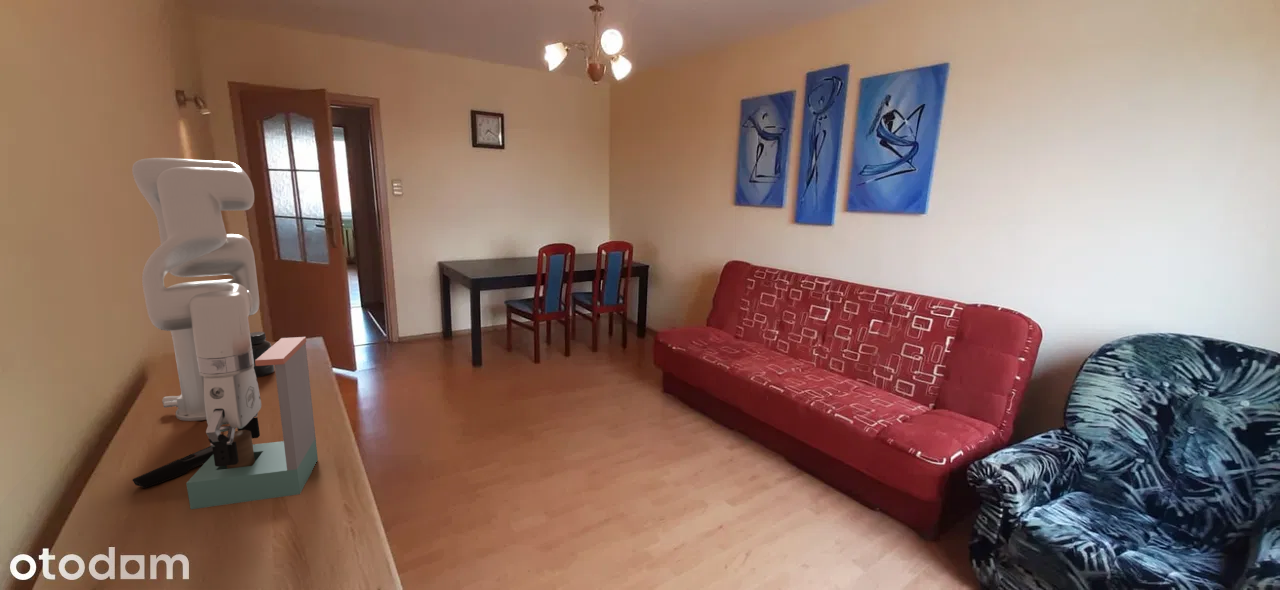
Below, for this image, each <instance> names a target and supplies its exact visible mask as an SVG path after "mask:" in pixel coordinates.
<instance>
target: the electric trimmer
mask: <svg viewBox="0 0 1280 590" xmlns="http://www.w3.org/2000/svg"><path fill="white" fill-rule="evenodd" d="M212 455H213V449H212V447H211V445H209V446H207V447H205V448H203V449H200V450H198V451H196V452H192V453H190V454H188V455H186V456H184V457H181V458H179V459H175V460H173V461H172V462H169V463H167V464H164V465H162V466H160V467H157V468H154V469H152V470H150V471H148V472H146V473H144V474H141V475H139V476H137V477H134V478H132V480H131V481H132V482H133V484H134V485H135V486H137V487H140V488H144V489H145V488H149V487H151V486H154V485H157V484H160V483H163V482H167V481H168V480H172V479H174V478H177V477H179V476H183V475H185V474H187V473H188V471H190V470H192V469H195V468H196V467H199V466H201V465H203V464H204V463H205V462H206V461H207V460H208V459H209V458H210V457H211V456H212Z"/></svg>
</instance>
